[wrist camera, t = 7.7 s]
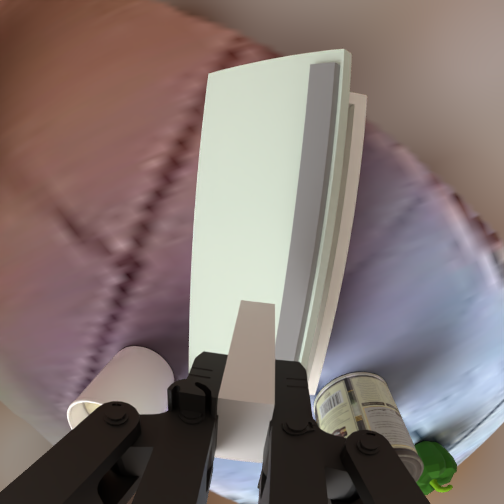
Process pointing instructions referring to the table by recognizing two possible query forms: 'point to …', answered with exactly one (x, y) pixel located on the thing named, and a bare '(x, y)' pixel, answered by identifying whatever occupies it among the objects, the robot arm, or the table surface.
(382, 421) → the coffee can
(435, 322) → the table surface
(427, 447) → the bell pepper
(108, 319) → the table surface
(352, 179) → the duct channel
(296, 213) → the pale green rectangular panel
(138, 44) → the table surface
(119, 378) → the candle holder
